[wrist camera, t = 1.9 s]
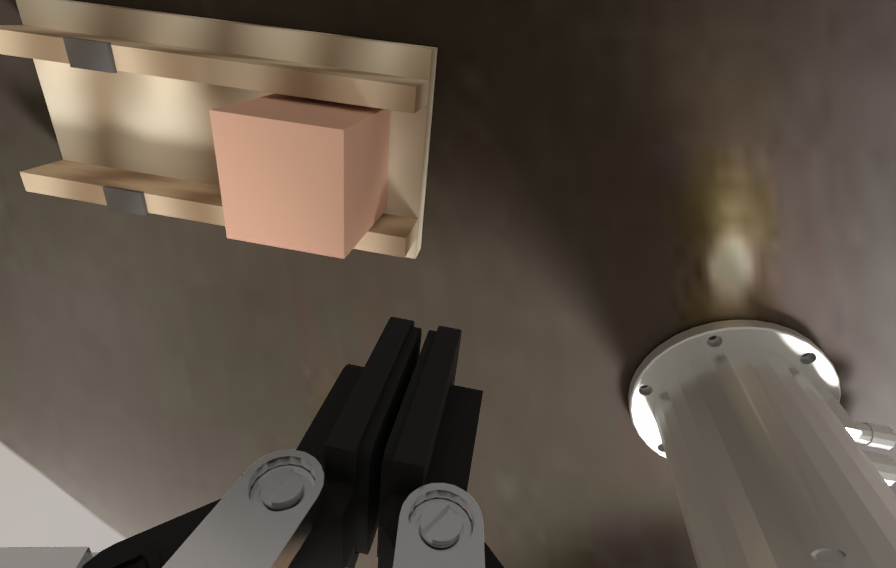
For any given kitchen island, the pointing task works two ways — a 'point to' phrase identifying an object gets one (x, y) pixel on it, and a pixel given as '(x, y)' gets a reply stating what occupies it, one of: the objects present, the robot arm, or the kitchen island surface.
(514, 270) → the kitchen island surface
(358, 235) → the block
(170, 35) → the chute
